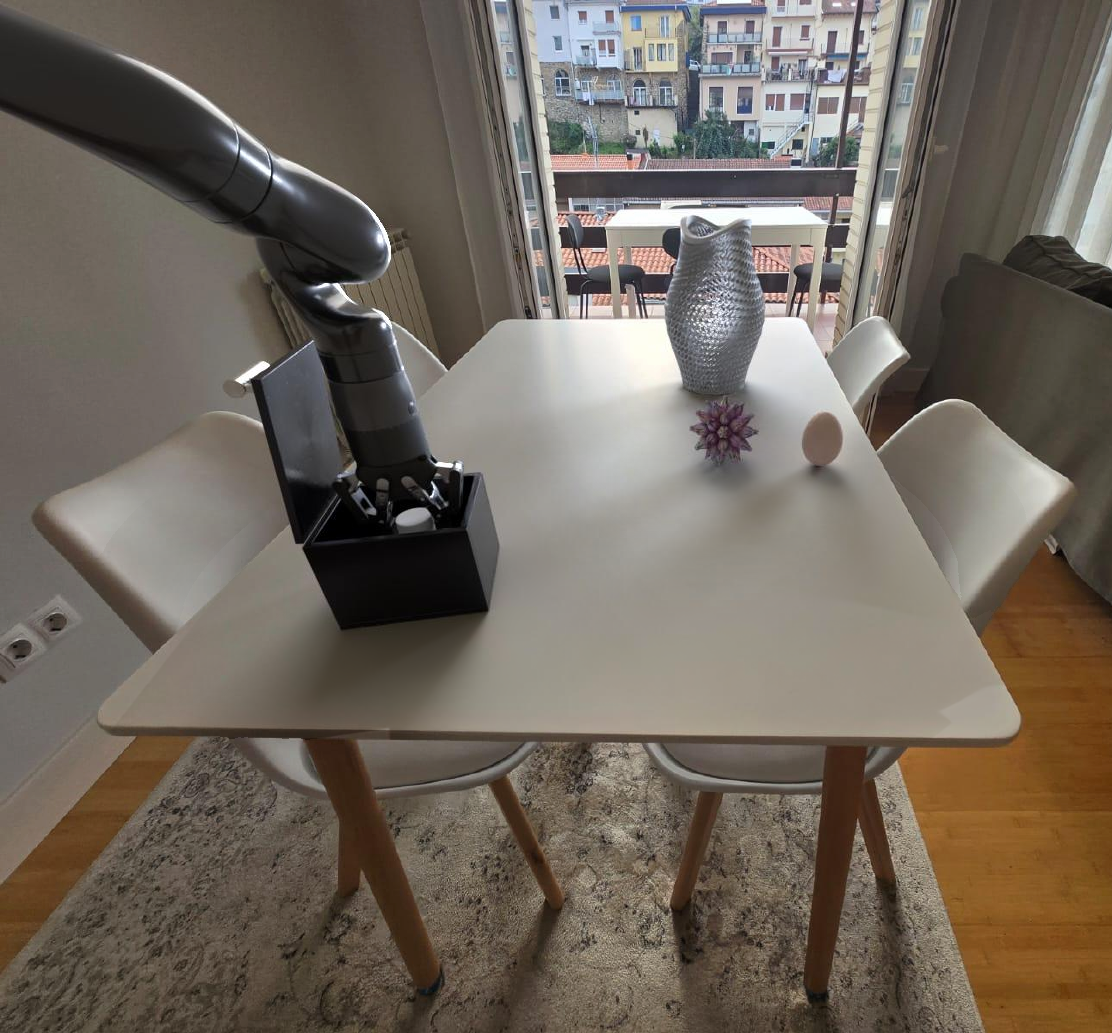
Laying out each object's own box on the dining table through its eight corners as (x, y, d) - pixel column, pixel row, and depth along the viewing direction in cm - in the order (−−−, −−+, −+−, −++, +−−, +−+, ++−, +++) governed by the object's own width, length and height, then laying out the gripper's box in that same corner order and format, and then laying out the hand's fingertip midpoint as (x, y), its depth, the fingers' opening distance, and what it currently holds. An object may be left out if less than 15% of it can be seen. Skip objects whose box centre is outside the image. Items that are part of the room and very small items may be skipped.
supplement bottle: (447, 556, 74) (430, 501, 69) (456, 575, 70) (439, 519, 66) (408, 569, 72) (388, 513, 67) (415, 589, 68) (395, 531, 64)
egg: (844, 472, 96) (853, 418, 90) (805, 475, 95) (812, 421, 90) (831, 454, 101) (838, 403, 96) (794, 456, 101) (800, 405, 95)
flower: (762, 475, 98) (704, 478, 92) (727, 446, 107) (672, 447, 101) (780, 412, 93) (719, 412, 87) (741, 387, 101) (684, 385, 96)
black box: (499, 546, 79) (482, 471, 72) (489, 611, 68) (467, 530, 61) (373, 560, 76) (343, 484, 70) (340, 630, 65) (301, 547, 59)
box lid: (316, 338, 61) (262, 333, 60) (260, 379, 49) (192, 375, 48) (345, 481, 70) (299, 480, 69) (303, 544, 58) (247, 544, 57)
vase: (653, 395, 127) (645, 221, 108) (682, 364, 145) (680, 210, 126) (750, 405, 122) (759, 223, 103) (768, 372, 139) (779, 212, 120)
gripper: (456, 396, 64) (487, 522, 73) (319, 406, 61) (368, 534, 71) (444, 422, 57) (479, 556, 67) (291, 434, 55) (349, 571, 64)
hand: (422, 544), depth 69 cm, fingers closed on supplement bottle, 4 cm apart
